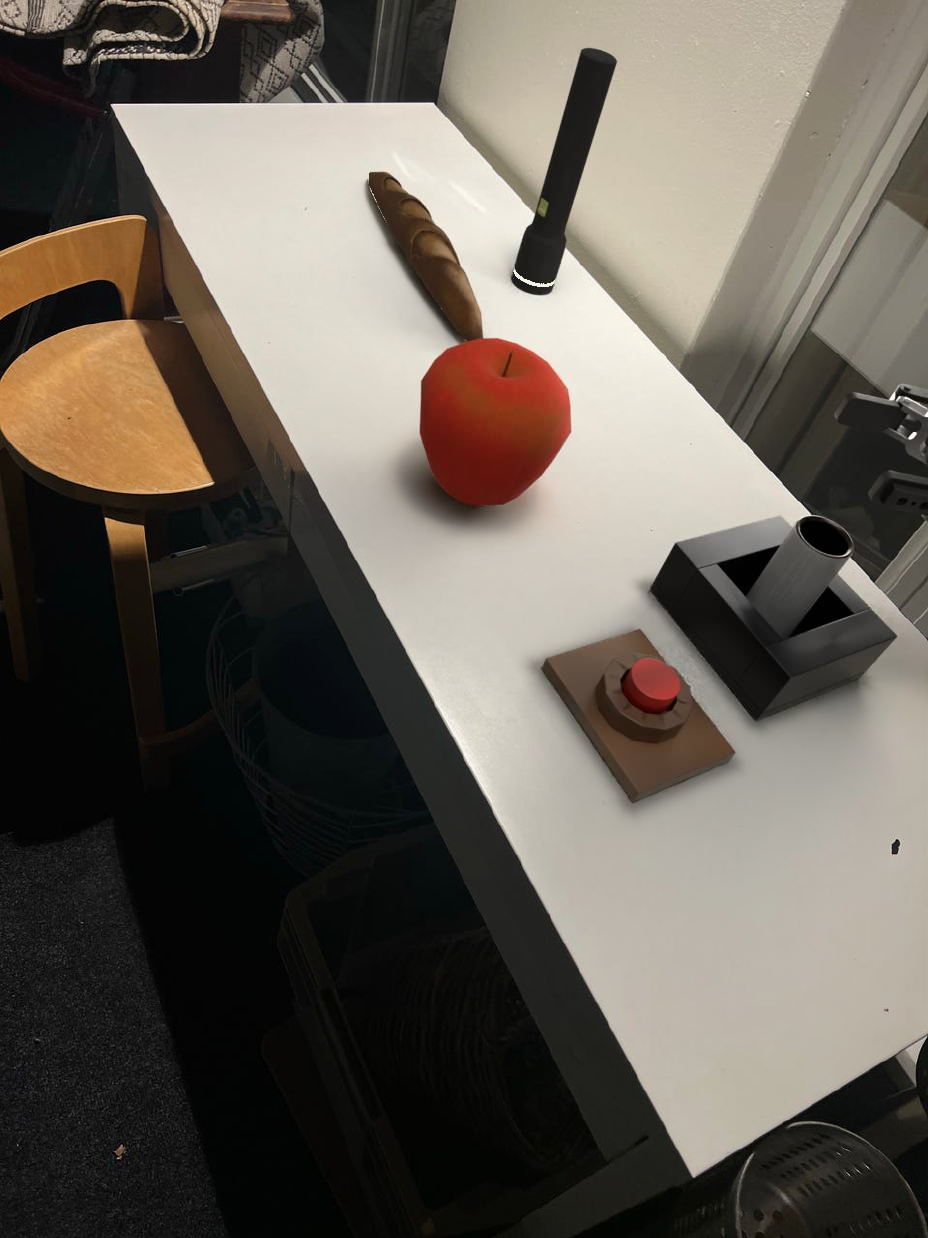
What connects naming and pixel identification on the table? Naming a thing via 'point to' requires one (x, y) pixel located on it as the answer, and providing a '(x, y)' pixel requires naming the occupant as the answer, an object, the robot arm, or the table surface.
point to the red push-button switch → (635, 717)
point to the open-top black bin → (744, 641)
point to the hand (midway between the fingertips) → (858, 445)
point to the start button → (651, 686)
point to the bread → (428, 254)
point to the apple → (491, 420)
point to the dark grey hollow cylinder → (800, 572)
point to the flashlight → (564, 172)
